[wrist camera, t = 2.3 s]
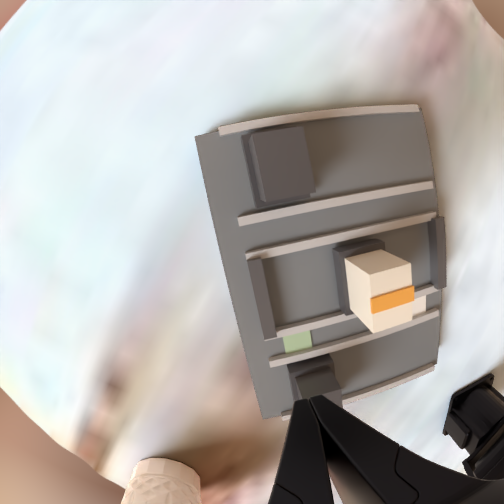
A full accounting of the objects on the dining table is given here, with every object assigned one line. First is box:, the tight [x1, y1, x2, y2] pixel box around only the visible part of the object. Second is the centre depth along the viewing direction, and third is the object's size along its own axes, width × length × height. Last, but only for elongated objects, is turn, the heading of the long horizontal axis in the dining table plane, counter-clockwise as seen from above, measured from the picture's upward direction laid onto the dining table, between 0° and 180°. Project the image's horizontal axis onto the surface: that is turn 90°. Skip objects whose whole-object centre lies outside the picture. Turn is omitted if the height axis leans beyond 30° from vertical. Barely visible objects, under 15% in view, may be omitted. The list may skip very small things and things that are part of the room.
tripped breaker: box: [332, 238, 414, 333], centre depth 16 cm, size 3×4×5 cm
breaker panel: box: [195, 104, 446, 421], centre depth 18 cm, size 15×20×5 cm
